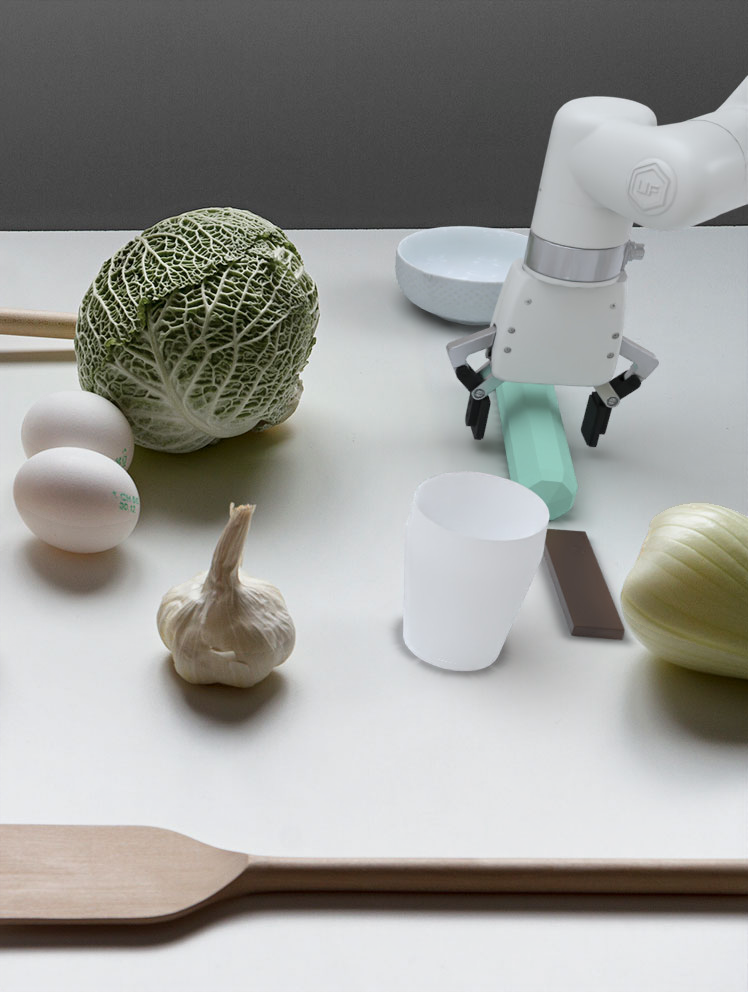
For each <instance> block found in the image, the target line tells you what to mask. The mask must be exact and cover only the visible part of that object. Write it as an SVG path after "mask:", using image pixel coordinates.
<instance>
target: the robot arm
mask: <svg viewBox="0 0 748 992" xmlns="http://www.w3.org/2000/svg"><path fill="white" fill-rule="evenodd" d="M541 172H542V173H541V176H540V181H539V186H538V191H537V195H536V196H537V197H536V201H535V205H534V210H533V214H532V220H531V225H530V228H529V232H528V233H529V234H528V242H527V247H526V251H525V256H524V258H521V259H516V260H514V261H513V263H512V265H511V267H510V269H509V271H508V274H507V276H506V279H505V281H504V284H503V286H502V289H501V292H500V295H499V298H498V301H497V304H496V307H495V311H494V314H493V317H492V321H491V324H490V325H489V327H487V328H484V329H481V330H478V331H476V332H474V333H471V334H469V335H466V336H463V337H461V338H457V339H455V340H453V341H450V342H448V343H447V344H446V346H445V350H446V353H447V356H448V360H449V361H450V364H451V366H452V370H453V371H454V374H455V376H456V379H457V380H458V381H459V382H460V383H461V385H462V386H463V387H464V388H465V389H466V390H467V391H468V392H469V394H468V400H467V405H466V411H465V416H464V423H465V426H466V427H470V430H471V433H472V437H473V440H474V441H481V440H483V439H484V438H485V434H486V428H487V423H488V418H489V414H490V410H491V405H492V403H491V402H492V401H491V398H490V396H489V395H490V394H491V393H492V392H493V391H496V388H497V387H498V386H500V385H501V384H502V383H503V382H505V381H506V382H513V383H527V384H543V385H554V386H562V387H563V386H565V387H583V388H584V387H586V388H587V387H588V388H589V387H593V389H594V390H595V391H591V394H588V395H589V396H588V399H587V403H586V407H585V410H584V414H583V418H582V421H581V425H580V433H581V435H582V437H583V439H584V443H585V444H586V446H588V448H597V446H598V443H599V439H600V437H601V436H604V435H605V434H606V432H607V429H608V426H609V422H610V417H611V414H612V411H613V408H616V407H618V406H619V404H620V403H621V400H623V399H624V398H626V397H627V396H630V395H631V394H632V393H634V392H635V391H637V390H638V389H639V388H640V387H641V386H642V382H643V381H644V380H646V379H647V378H648V377H649V376H650V375H651V374H652V373H653V372H654V371H655V370H656V369H657V367H658V366H659V364H660V362H659V359H658V358H657V356H656V355H655V354H654V353H653V352H652V351H650V350H649V349H647V348H645V347H643V346H642V345H640V344H638V343H636V342H635V341H633V340H631V339H629V338H628V337H626V336H624V329H625V328H624V327H625V319H626V313H627V301H628V275H627V271H626V269H625V267H626V265H627V264H628V262H632V261H642V260H643V259H644V257H645V253H646V245H645V244H644V243H640V242H639V243H637V242H635V241H632V240H631V239H630V237H631V235H632V230H633V225H634V224H636V225H639V226H641V227H643V228H646V229H649V230H653V231H658V232H678V231H682V230H685V229H689V228H692V227H694V226H697V225H699V224H702V223H704V222H707V221H709V220H712V219H714V218H717V217H718V216H721V215H722V214H725V213H728V212H731V211H733V210H735V209H738V208H741V207H743V206H746V205H748V75H746V76H745V78H744V79H743V81H741V83H740V84H739V85H738V86H737V88H736V89H734V90H733V92H732V93H731V94H730V95H729V96H728V98H727V99H726V100H725V101H724V102H723V103H722V104H721V105H720V106H719V107H718V108H717V109H716V110H715V111H713V112H709V113H706V114H702V115H700V116H697V117H693V118H691V119H687V120H685V121H682V122H675V123H668V124H663V125H658V121H657V116H656V114H655V113H654V111H653V110H652V109H651V108H650V107H649V106H647V105H645V104H642V103H640V102H638V101H635V100H631V99H627V98H622V97H615V96H595V95H594V96H585V97H578V98H574V99H571V100H569V101H567V102H566V103H564V104H563V105H562V106H561V107H560V108H559V109H558V110H557V112H556V113H555V115H554V119H553V121H552V125H551V130H550V135H549V139H548V143H547V149H546V153H545V158H544V163H543V168H542V171H541ZM481 351H484V357H485V359H487V361H486V362H485V363H483V365H481V366H480V367H478V369H476V370H475V369H474V368H473V367H472V366H471V365H470V363H468V361H467V358H468V357H469V356H471V355H473V354H475V353H479V352H481ZM619 356H621V357H623V358H625V359H627V360H628V361H630V362H631V365H630V366H629V367H630V368H629V369H627V370H625V371H623V372H621V373H620V374H618V375H617V376H615V377H614V378H613V376H614V374H615V372H616V369H617V365H618V362H619ZM600 435H601V436H600Z"/></svg>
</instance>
